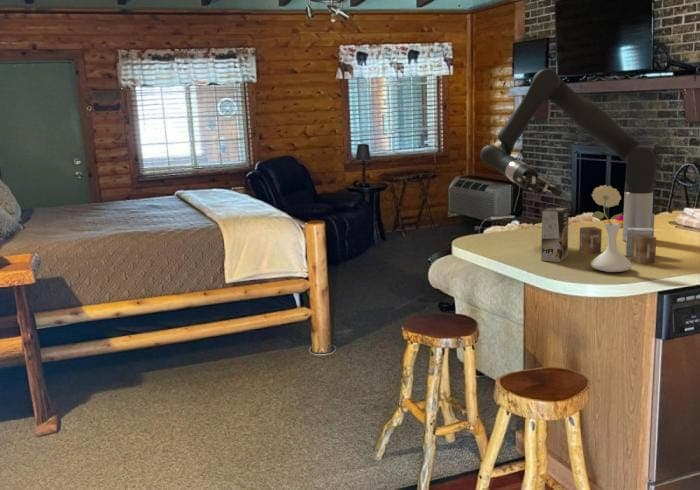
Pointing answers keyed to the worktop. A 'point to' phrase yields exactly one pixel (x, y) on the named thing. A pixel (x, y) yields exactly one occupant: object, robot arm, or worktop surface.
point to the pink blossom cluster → (616, 220)
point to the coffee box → (554, 234)
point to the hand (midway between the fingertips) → (551, 192)
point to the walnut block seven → (590, 240)
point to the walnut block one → (643, 249)
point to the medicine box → (634, 232)
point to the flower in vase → (609, 233)
